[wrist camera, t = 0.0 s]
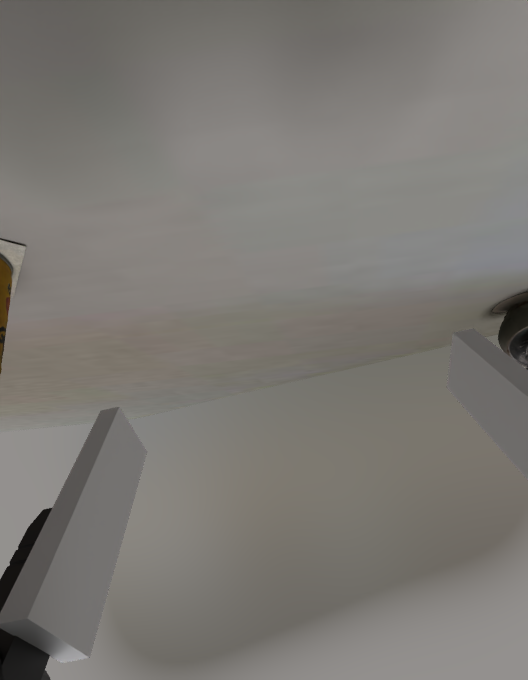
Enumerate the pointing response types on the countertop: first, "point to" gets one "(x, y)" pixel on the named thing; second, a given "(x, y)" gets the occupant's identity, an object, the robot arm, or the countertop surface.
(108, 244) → the countertop surface
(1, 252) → the condiment
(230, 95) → the countertop surface
